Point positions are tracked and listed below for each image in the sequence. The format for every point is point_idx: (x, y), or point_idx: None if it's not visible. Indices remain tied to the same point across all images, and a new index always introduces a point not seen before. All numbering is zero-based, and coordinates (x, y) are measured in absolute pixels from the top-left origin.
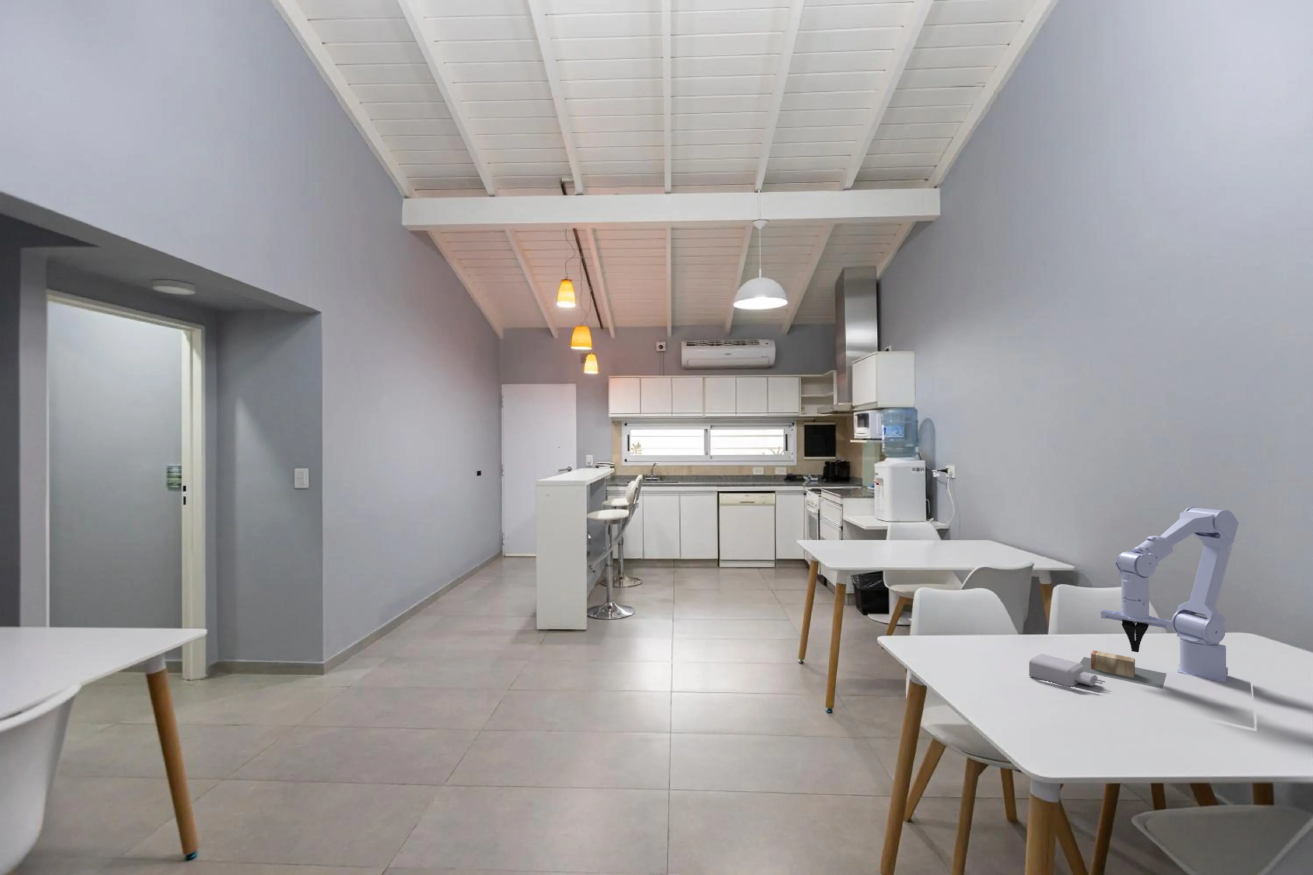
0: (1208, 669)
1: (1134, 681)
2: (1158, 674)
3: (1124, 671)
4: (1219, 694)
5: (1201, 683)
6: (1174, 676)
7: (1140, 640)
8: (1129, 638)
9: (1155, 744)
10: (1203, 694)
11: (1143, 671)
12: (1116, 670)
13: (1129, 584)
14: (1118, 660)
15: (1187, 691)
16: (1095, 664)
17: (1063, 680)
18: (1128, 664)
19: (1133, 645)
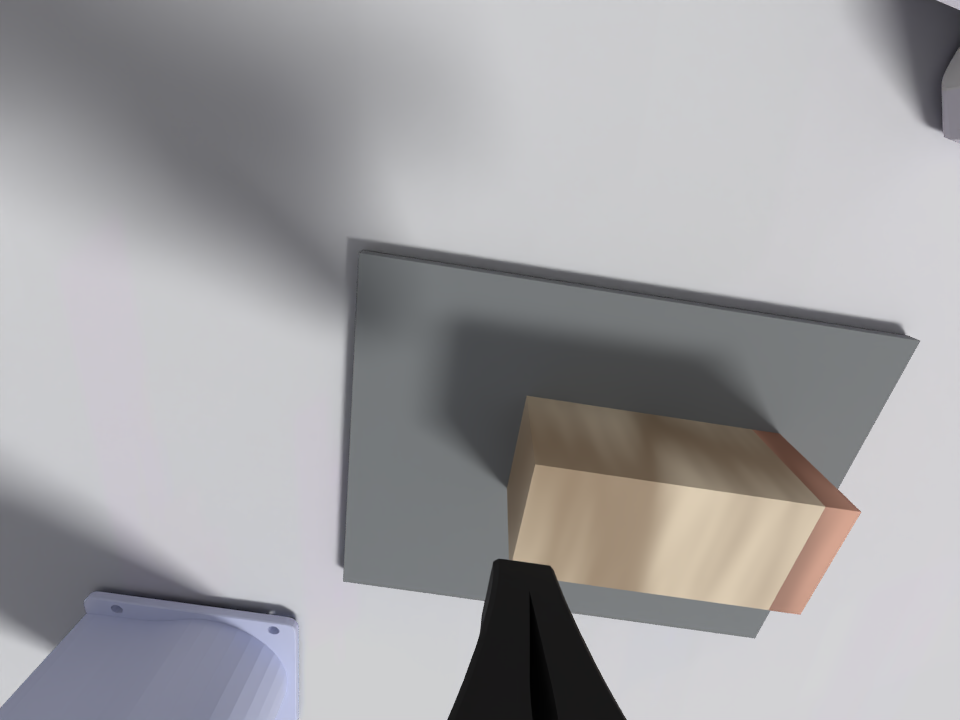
0: (127, 664)
1: (528, 305)
2: (381, 540)
3: (583, 417)
4: (75, 388)
5: (185, 532)
6: (310, 573)
7: (466, 689)
8: (608, 708)
9: None
10: (142, 329)
11: (456, 550)
12: (632, 424)
13: None
14: (643, 471)
15: (226, 333)
16: (772, 451)
17: None
18: (566, 450)
19: (545, 615)
